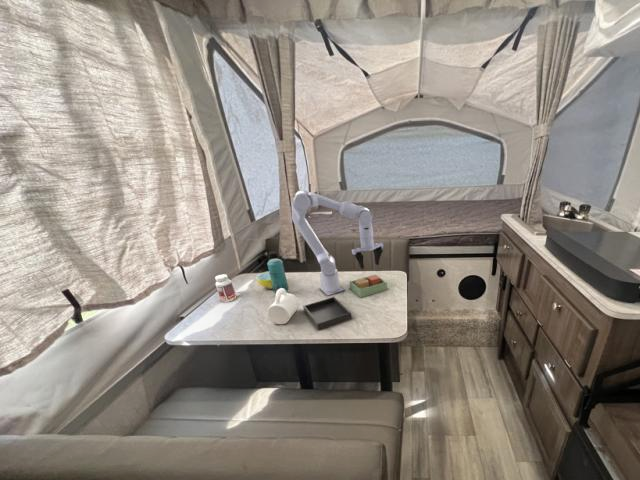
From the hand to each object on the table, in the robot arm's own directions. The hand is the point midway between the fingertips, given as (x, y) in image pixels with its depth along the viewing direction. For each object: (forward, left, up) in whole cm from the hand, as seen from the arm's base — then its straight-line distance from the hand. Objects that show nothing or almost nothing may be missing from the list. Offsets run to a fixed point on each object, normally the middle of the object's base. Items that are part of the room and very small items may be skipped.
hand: (369, 266), depth 141 cm
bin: (+3, -3, -9) cm, 10 cm away
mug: (+6, -41, -10) cm, 43 cm away
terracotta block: (+3, 0, -9) cm, 9 cm away
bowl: (-28, -39, -10) cm, 49 cm away
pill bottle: (-27, -58, -10) cm, 65 cm away
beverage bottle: (-16, -37, -10) cm, 41 cm away
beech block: (+3, -6, -9) cm, 11 cm away
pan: (+14, -27, -9) cm, 32 cm away
